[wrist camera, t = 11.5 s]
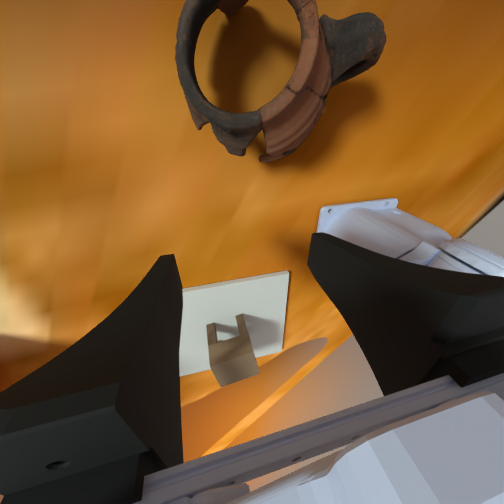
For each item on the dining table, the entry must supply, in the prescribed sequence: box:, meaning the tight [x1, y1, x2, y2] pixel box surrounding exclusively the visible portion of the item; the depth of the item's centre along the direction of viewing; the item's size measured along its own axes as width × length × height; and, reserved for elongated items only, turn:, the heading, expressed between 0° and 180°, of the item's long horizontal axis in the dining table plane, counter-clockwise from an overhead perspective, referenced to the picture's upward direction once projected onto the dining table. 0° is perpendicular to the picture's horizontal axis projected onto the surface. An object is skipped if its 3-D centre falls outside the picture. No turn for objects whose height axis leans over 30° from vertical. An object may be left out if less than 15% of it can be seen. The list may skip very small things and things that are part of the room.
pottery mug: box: [175, 0, 386, 162], centre depth 14 cm, size 12×10×8 cm
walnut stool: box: [206, 313, 259, 387], centre depth 27 cm, size 5×5×6 cm
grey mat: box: [179, 270, 289, 377], centre depth 29 cm, size 16×16×1 cm
